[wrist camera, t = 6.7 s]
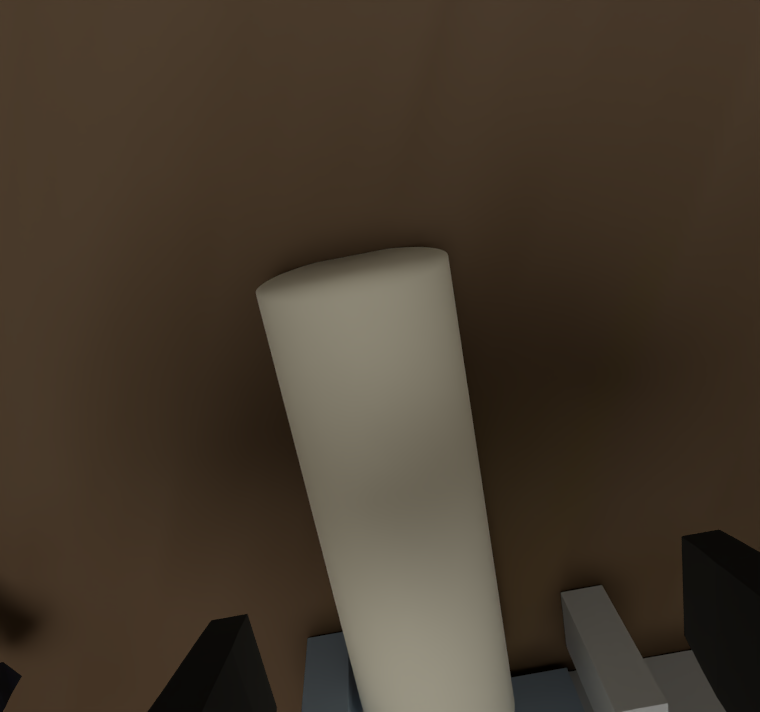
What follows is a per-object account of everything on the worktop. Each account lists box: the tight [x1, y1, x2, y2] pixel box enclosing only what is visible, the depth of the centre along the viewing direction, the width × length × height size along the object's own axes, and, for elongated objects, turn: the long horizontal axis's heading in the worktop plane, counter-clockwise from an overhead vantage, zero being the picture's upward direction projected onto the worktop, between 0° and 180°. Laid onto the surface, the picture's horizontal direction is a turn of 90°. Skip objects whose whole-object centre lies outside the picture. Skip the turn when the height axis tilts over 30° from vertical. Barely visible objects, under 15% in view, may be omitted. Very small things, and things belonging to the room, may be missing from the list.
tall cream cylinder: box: [256, 247, 515, 712], centre depth 15 cm, size 12×4×4 cm, turn 10°
